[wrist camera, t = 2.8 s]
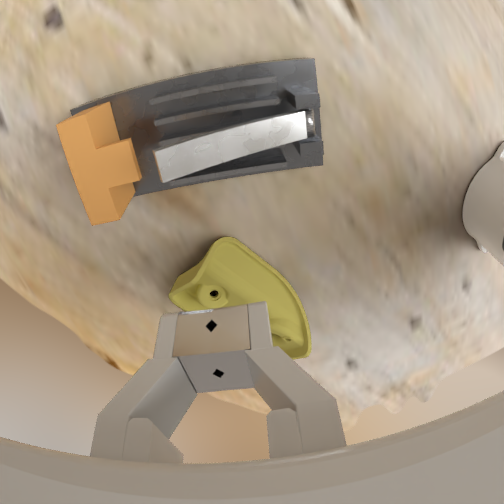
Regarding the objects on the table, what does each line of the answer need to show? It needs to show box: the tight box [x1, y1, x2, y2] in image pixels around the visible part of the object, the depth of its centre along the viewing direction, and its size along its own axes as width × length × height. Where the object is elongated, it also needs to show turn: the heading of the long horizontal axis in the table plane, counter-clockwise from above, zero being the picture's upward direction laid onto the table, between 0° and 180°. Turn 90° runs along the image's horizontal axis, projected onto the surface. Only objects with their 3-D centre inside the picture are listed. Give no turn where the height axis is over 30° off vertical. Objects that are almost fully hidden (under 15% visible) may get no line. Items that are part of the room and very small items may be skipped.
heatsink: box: [71, 58, 324, 196], centre depth 28 cm, size 24×11×8 cm, turn 98°
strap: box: [153, 108, 315, 183], centre depth 24 cm, size 14×2×1 cm, turn 97°
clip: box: [56, 101, 142, 226], centre depth 27 cm, size 6×10×6 cm, turn 8°
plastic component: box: [169, 237, 311, 360], centre depth 44 cm, size 20×7×10 cm
